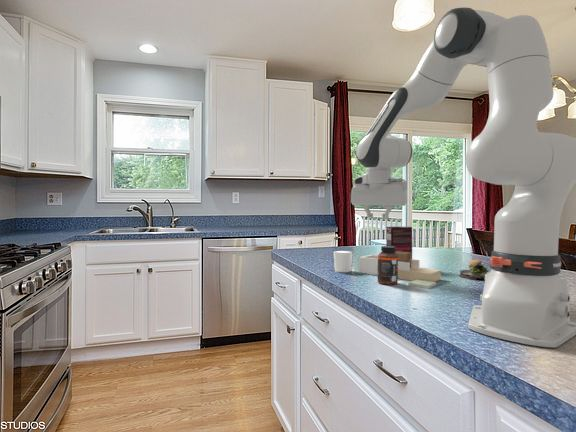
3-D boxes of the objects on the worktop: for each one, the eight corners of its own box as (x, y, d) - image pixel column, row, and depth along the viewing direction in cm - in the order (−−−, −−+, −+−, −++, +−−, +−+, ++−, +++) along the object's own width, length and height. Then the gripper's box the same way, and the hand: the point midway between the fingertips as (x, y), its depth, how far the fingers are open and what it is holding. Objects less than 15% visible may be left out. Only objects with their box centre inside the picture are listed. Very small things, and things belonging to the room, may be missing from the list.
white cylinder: (338, 268, 132) (338, 249, 132) (355, 270, 128) (355, 251, 128) (329, 271, 126) (329, 251, 126) (346, 273, 122) (347, 253, 122)
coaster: (428, 288, 101) (428, 285, 101) (408, 285, 105) (408, 282, 105) (436, 285, 105) (436, 282, 105) (416, 282, 109) (416, 279, 109)
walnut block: (404, 269, 114) (405, 254, 114) (390, 267, 118) (390, 252, 118) (411, 267, 118) (411, 252, 118) (397, 265, 121) (397, 251, 121)
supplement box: (406, 266, 137) (406, 226, 136) (412, 269, 132) (413, 226, 131) (385, 267, 135) (385, 226, 135) (390, 269, 131) (391, 226, 130)
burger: (476, 282, 110) (477, 259, 110) (451, 275, 122) (451, 253, 122) (508, 281, 113) (509, 258, 113) (480, 274, 125) (481, 253, 124)
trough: (430, 283, 107) (430, 265, 107) (359, 272, 124) (359, 257, 124) (440, 279, 113) (440, 262, 113) (371, 269, 130) (371, 254, 130)
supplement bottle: (400, 285, 104) (400, 247, 104) (379, 285, 105) (380, 247, 104) (394, 281, 110) (395, 245, 110) (375, 280, 110) (376, 245, 110)
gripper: (410, 178, 118) (409, 219, 119) (358, 181, 132) (357, 217, 133) (402, 177, 114) (401, 219, 114) (348, 180, 128) (348, 217, 128)
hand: (377, 218), depth 124 cm, fingers open, 5 cm apart
